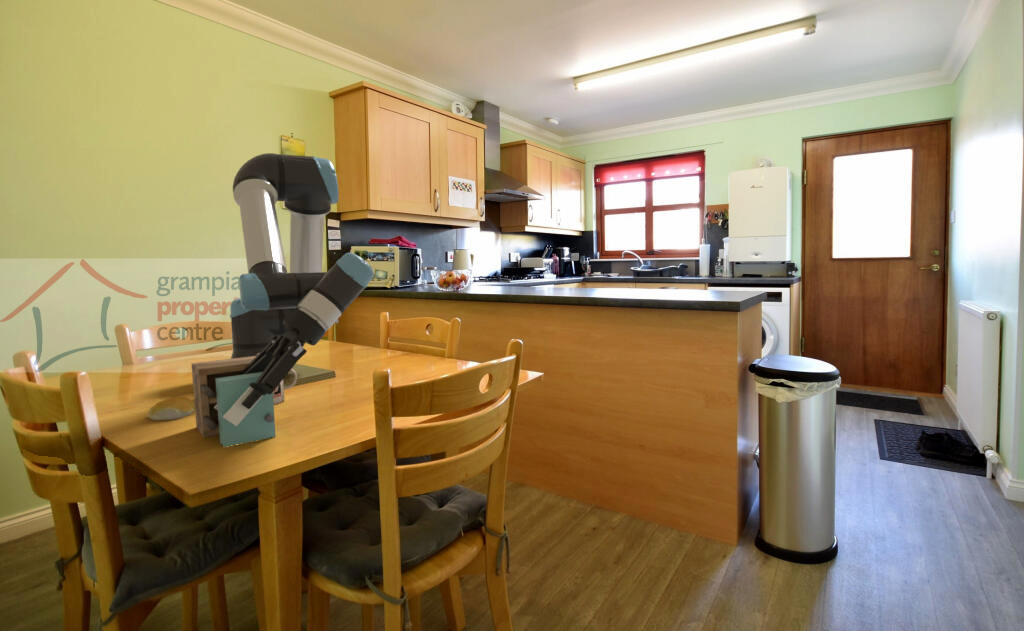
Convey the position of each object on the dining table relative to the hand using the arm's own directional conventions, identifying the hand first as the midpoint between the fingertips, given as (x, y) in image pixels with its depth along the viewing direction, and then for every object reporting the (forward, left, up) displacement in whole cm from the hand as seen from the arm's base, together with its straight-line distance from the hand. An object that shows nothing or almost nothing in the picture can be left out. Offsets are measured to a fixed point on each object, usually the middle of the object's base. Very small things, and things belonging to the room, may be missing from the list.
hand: (224, 416), depth 93 cm
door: (0, +4, -5) cm, 6 cm away
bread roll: (-29, -5, -6) cm, 30 cm away
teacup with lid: (-26, +14, -5) cm, 30 cm away
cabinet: (-8, +3, -5) cm, 10 cm away
